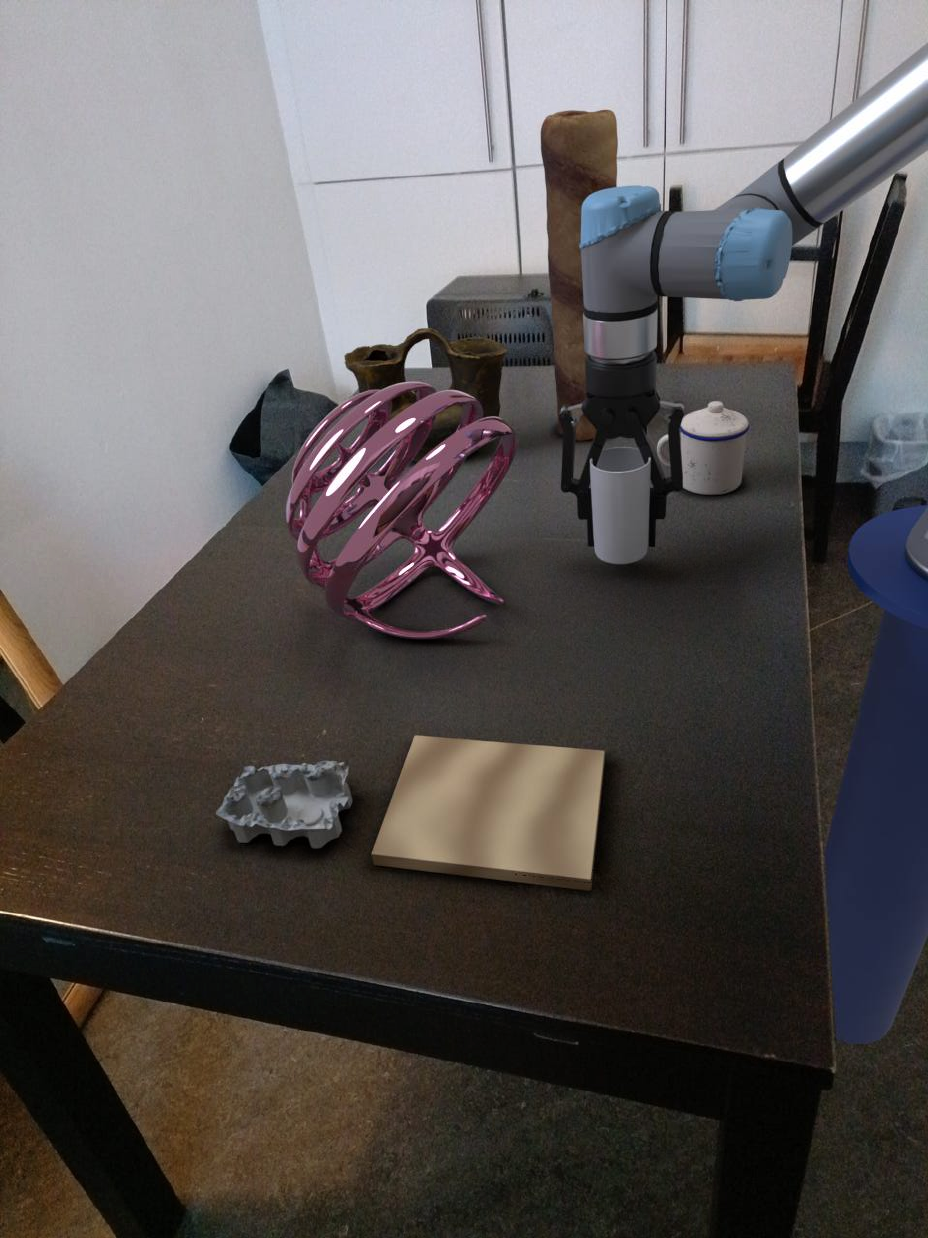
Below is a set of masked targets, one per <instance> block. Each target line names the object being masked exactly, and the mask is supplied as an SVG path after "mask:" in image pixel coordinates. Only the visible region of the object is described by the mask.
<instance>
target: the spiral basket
mask: <svg viewBox="0 0 928 1238" xmlns="http://www.w3.org/2000/svg"><path fill="white" fill-rule="evenodd" d="M409 391H411V392H413V393H414V394H415V395H416V400H417V402H416V403H414V404H412V405H411V406H409V407H408V408H406V409H405V410H403V411H402V412H401V413H399V414H398V415H396V416H395V417H394V418H393V419H391V420H390V421H389V422H388V420H389V418H390V414H391V410H392V399H394V398H396V397H397V396H399V395H402V394H404V393H406V392H409ZM458 404H462V415H461V419H460V423H459V425H458V428H457V430H456V432H455V433H454V434H452V435H451V436H450V437H448V438H447V439H445V440H444V441H443V442H441V443H440V444H439V445H438V446H436V447H435V448H434V449H433V450H431V451H430V452H429V453H428V454H427V455H425V456H424V457H423V458H422V459H421V460H420V461H419V462H415V464H413V466H412V467H410V469H409V470H408V471H406V470H407V468H408V467H409V466H410V465H411V463H412V462H413V459H414V457H415V456H416V454H417V453H418V451H419V450H420V448H421V447H422V445H423V444H424V442H425V440H426V438H427V436H428V435H429V433H430V431H431V428H432V426H433V424H434V421H435V419H436V415H437V414H438V413H440V412H442V411H444V410H446V409H448V408H450V407H452V406H455V405H458ZM350 409H351V410H350ZM349 410H350V411H349ZM348 411H349V412H348ZM346 412H348V413H346ZM345 413H346V414H345ZM344 414H345V415H344ZM342 415H344V416H343V417H342V418H341V419H340V420H339V421H338V422H336V424H335V425H334V426H333V427H331V429H330V430H328V428H330V426H331V425H332V424H334V423H335V421H337V419H339V418H340V417H341V416H342ZM369 415H370V416H369ZM368 416H369V419H368V418H367V417H368ZM366 419H367V422H366V423H365V426H364V428H363V429H362V431H361V432H360V434H359V435H358V437H357V438H356V439H355V441H354V442H353V444H351V446H349V447H346V446H345V445H343V444H342V441H344V440H345V439H346V437H347V436H349V434H350V433H352V431H353V430H355V429H356V428H357V427H358V426H359V425H360V424H361V423H362V422H363V421H365V420H366ZM327 430H328V432H327V433H326V434H325V436H323V438H322V439H321V440H320V442H319V443H318V444H317V445H316V446H315V447H314V445H315V444H316V443H317V442H318V440H319V439H320V437H322V435H323V434H324V433H325V432H326V431H327ZM496 439H499V442H498V444H497V447H496V449H495V451H494V453H493V456H492V457H491V459H490V461H489V463H488V465H487V467H486V468H485V470H484V471H483V473H482V474H481V476H480V477H479V479H478V480H477V482H476V484H475V485H474V486H473V488H472V489H471V490H470V491H469V493H468V494H467V495H466V496H465V498H464V499H463V500H462V502H461V504H460V505H458V507H457V508H456V509H455V511H454V512H453V513H452V514H451V515H450V517H449V518H448V519H447V520H446V521H445V522H444V523H443V524H442V526H440V527H439V528H437V529H435V530H434V529H433V530H432V529H429V528H428V527H426V526H425V524H424V522H423V518H424V516H425V513H426V512H427V511H428V509H429V508H430V507H431V506H432V505H433V504H434V503H435V502H436V500H437V499H438V498H439V497H440V495H441V494H442V493H443V492H444V491H445V489H446V488H447V486H448V485H449V484H450V483H451V481H452V480H453V478H454V477H455V476H456V474H457V473H458V471H459V470H460V468H461V467H462V465H463V464H464V463H465V461H466V459H467V457H468V456H470V455H469V454H471V453H472V454H473V453H474V452H475V451H477V450H478V449H480V448H481V447H482V446H483V447H484V446H485V445H486V444H489V443H490V442H492V441H494V440H496ZM401 440H402V441H401ZM400 441H401V442H400ZM399 442H400V444H398V443H399ZM313 447H314V449H313V450H312V448H313ZM395 447H396V448H395ZM518 447H519V438H518V434H517V433H516V431H515V429H514V428H513V426H512V425H511V424H510V423H509V422H507V421H506V420H505V419H504V418H502V417H500V416H499V417H496V416H491V417H485V418H483V410H482V406H481V404H480V403H479V401H478V400H477V399H476V398H474V397H473V396H471V395H469V394H467V393H465V392H462V391H459V390H448V389H445V390H440V391H437V389H435V387H434V386H433V385H431V384H429V383H426V382H422V381H406V382H402V383H398V384H394V385H391V386H389V387H386V388H384V389H382V390H369V391H365V392H362V393H357V394H355V395H353V396H351V397H350V398H348V399H346V400H345V401H343V402H341V403H340V404H338V405H337V406H336V407H335V408H334V409H332V410H331V411H330V412H329V413H328V414H327V415H326V416H325V417H324V418H323V419H322V420H321V421H320V422H319V423H318V424H317V425H316V426H315V428H314V429H312V431H311V432H310V434H309V435H308V437H307V438H306V439H305V441H304V442H303V444H302V446H301V448H300V450H299V451H298V453H297V456H296V457H295V461H294V464H293V468H292V470H291V487H290V489H289V493H288V496H287V500H286V505H285V522H286V528H287V530H288V533H289V535H290V536H291V537H292V539H294V540H295V541H297V544H296V549H295V557H296V558H295V559H296V563H297V566H298V568H299V570H300V572H301V574H302V576H303V577H304V578H305V580H306V581H307V582H309V583H310V584H313V585H315V586H318V587H320V588H321V589H323V590H324V592H323V593H324V601H325V603H326V604H327V606H328V608H330V610H331V611H332V612H333V613H335V614H336V615H338V616H339V617H341V618H344V619H347V620H352V621H355V622H358V623H359V624H362V625H364V626H366V627H368V628H370V629H373V630H375V631H376V632H380V633H381V634H385V635H388V636H391V637H394V638H395V637H396V638H400V639H407V640H416V641H419V640H420V641H427V640H438V639H444V638H445V639H446V638H449V637H454V636H456V635H457V636H458V635H460V634H463V633H465V632H468V631H470V630H472V629H475V628H476V627H478V626H479V625H481V624H483V623H484V622H485V621H486V620H487V618H488V617H487V615H486V614H481V615H478V616H476V617H474V618H472V619H470V620H468V621H465V622H464V623H461V624H458V625H455V626H453V627H452V626H451V627H448V628H444V629H443V628H442V629H440V630H439V629H438V630H412V629H405V628H401V627H398V626H394V625H390V624H389V623H386V622H384V621H381V620H379V619H377V618H375V617H374V616H373V615H372V614H371V613H372V612H374V611H375V610H377V609H378V608H380V607H382V606H383V605H385V604H386V603H387V602H389V601H390V600H392V599H393V598H394V597H396V596H397V595H398V594H400V593H401V592H402V591H404V590H405V589H406V588H407V587H408V586H409V585H411V584H412V583H413V582H415V581H416V579H418V578H419V577H421V575H422V574H423V573H425V572H426V571H427V570H429V569H432V568H436V569H439V570H440V571H442V572H444V573H445V574H446V575H447V576H449V577H450V578H451V579H452V580H454V581H455V582H456V583H458V585H460V586H461V587H463V588H465V589H466V590H467V591H469V592H471V593H472V594H474V595H475V596H477V597H479V598H481V599H482V600H484V601H486V602H489V603H492V604H495V605H499V606H500V605H504V604H505V599H504V598H503V597H502V596H500V595H499V594H498V593H496V592H495V591H494V589H492V588H491V587H489V585H487V584H486V582H484V580H482V579H481V578H480V577H478V576H477V575H476V574H475V573H474V572H473V571H472V570H471V569H470V568H469V567H468V566H466V565H465V564H464V563H463V562H462V561H461V560H460V559H459V558H458V557H457V555H455V553H454V550H453V547H454V544H455V542H457V540H458V538H459V537H460V536H461V535H462V534H463V533H464V531H465V530H467V528H468V527H469V525H470V524H472V523H473V521H474V520H475V519H476V518H477V516H478V515H479V514H480V512H481V511H482V510H483V509H484V507H485V506H486V505H487V504H488V502H489V501H490V499H491V498H492V497H493V495H494V494H495V493H496V490H497V489H498V488H499V486H500V485H501V483H502V482H503V480H504V478H505V477H506V475H507V473H508V472H509V470H510V468H511V466H512V464H513V462H514V460H515V457H516V455H517V451H518ZM394 448H395V449H394ZM335 449H336V450H337V451H338V452H337V453H338V458H337V459H336V460H335V461H334V462H333V463H331V464H330V465H329V466H327V467H325V468H324V469H321V470H320V471H319V469H320V468H321V466H323V464H324V463H325V461H326V460H327V459H328V458H329V457H330V455H331V454H332V453H333V452H334V451H335ZM392 449H394V451H393V452H392V454H391V455H390V456H389V458H388V459H387V460H386V462H384V464H383V465H382V467H380V468H379V469H378V470H377V471H375V472H372V471H371V470H373V469H374V468H375V466H376V465H377V464H378V463H379V462H380V461H381V460H382V459H383V458H384V457H386V455H387V454H388V453H390V451H392ZM311 450H312V451H311ZM310 452H311V453H310ZM472 454H471V455H472ZM405 471H406V473H405V474H403V473H404V472H405ZM402 474H403V476H402ZM400 477H401V478H400ZM396 481H397V482H396ZM356 487H358V488H357V491H356V492H355V493H354V494H353V495H351V493H352V492H353V491H354V489H355V488H356ZM319 493H321V494H320V495H319V497H318V499H317V500H316V502H315V503H314V505H313V507H312V499H313V496H315V495H317V494H319ZM350 495H351V497H349V496H350ZM348 497H349V498H348ZM298 507H299V517H298V518H297V517H296V513H297V510H298ZM311 507H312V508H311ZM370 508H372V509H371V510H370V512H368V514H367V515H366V517H364V519H363V520H362V521H361V523H359V525H358V526H357V528H356V529H355V531H354V532H353V534H351V536H350V538H349V539H348V541H347V542H346V544H345V545H344V547H343V548H342V550H341V551H340V553H339V555H338V556H337V558H334V559H332V560H328V561H327V560H324V558H323V557H322V555H321V552H320V549H319V545H318V543H319V541H321V540H323V539H325V538H327V537H330V536H331V535H333V534H335V533H337V532H338V531H340V530H342V529H344V528H345V527H347V526H348V525H349V524H351V523H353V522H354V521H355V520H356V519H358V518H359V517H360V516H361V515H362V514H364V513H365V512H366V511H368V510H369V509H370ZM402 539H403V540H407V541H408V542H410V543H411V544H412V546H413V548H414V551H413V554H411V556H410V557H409V558H408V559H407V560H406V561H405V562H403V564H402V565H400V566H399V567H398V568H397V569H395V570H394V571H393V572H392V573H391V574H390V575H388V576H387V577H385V578H384V579H382V580H381V581H380V582H379V583H377V584H376V585H375V586H373V587H372V588H370V589H368V590H367V591H365V592H363V593H362V594H359V595H358V596H356V597H351V596H349V595H348V594H349V592H350V590H351V587H352V585H353V583H354V581H355V580H356V578H357V576H358V575H359V573H360V571H361V570H362V568H364V567H365V566H367V565H368V564H370V563H371V562H372V561H374V560H375V559H376V558H378V557H379V556H380V555H381V554H383V553H384V552H385V551H386V550H387V549H389V548H390V547H391V546H392V545H393V544H394V543H396V542H397V541H399V540H402Z"/></svg>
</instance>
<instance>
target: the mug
mask: <svg viewBox="0 0 928 1238" xmlns="http://www.w3.org/2000/svg"><path fill="white" fill-rule="evenodd" d="M650 476H651V457H649V459H648V463H647V464H646V465H645V463H644V461H643V458H642V455H641V453H640V450H639V448H637V447H632V446H616V447H615V446H613V447H610V448H609V447H608V448H605V449H602V451H601V454H600V457H599V460H598V463H597V466H596V467H595V466H594V465H593V459H592V458H591V459H590V479H591V483H590V488H591V497H592V514H593V534H594V547H593V548H594V554H595V555H596V557H597V558H598V559H599V560H600V561H602V562H605V563H608V564H613V565H627V564H632V563H633V564H634V563H636V562H638V561H641V559H643V558H644V557H645V556H646V555H647V552H648V548H649V501H650V488H651V479H650Z"/></svg>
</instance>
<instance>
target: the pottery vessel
mask: <svg viewBox="0 0 928 1238" xmlns="http://www.w3.org/2000/svg"><path fill="white" fill-rule="evenodd" d="M425 340H430V341H432V342H433V343H435V345H436V346H437V347H438V348H439V349H440V350H441V351H442V352H443V354H444V356H445V358H446V361H447V364H448V367H449V370H450V375H451V385H450V386H449V388H448V389H447V390H459V391H462V392H465V393H467V394H469V395H471V396H473V397H474V398H476V399H477V400H478V401H479V403H480V404H481V406H482V410H483V418H485V417H491V416H496V417H500V411H501V407H502V406H501V402H500V390H501V383H502V376H503V372H502V371H503V364H504V363H503V362H504V358H505V355H506V354H507V352H508V349H505V344H503V343H500V342H498V341H495V340H493V339H491V338H488V337H483V336H482V337H473V336H472V337H465V338H462V339H455V340H452V341H449V339H448V338H447V336H445V335H443V334H441V332H439V331H438V330H436V329H434V328H433V327H423V328H422V327H421V328H417V329H415V331H413V332H412V333H410V334H409V335H407V336H406V338H405V340H404V341H403V342H401V343H399V344H397V345H393V344H385V343H382V344H380V343H378V344H373V345H362V346H358V347H356V348H355V349H353V350H352V351H351V352H346V353H345V354H344V355H343V357H344V364H345V368H346V369H347V370H348V371H349V372H351V373H352V374H353V376H354V377H355V379H356V383H357V387H358V394H360V393H362V392H365V391H369V390H382V389H384V388H386V387H389V386H391V385H394V384H398V383H402V382H407V379H406V373H405V372H406V371H405V366H406V361H407V357H408V354H409V352H410V351H411V350H412V348H413V347H415V345H417V344H419V343H421V342H423V341H425ZM416 402H417V400H416V395H415V393H414V391H409V392H406V393H404V394H402V395H399V396H397V397H396V398H394V399H392V410H391V414H390V418H389V420H388V422H389V421H390V420H391V419H393V418H394V417H395V416H396V415H398V414H399V413H401V412H402V411H403V410H405V409H406V408H408V407H409V406H411V405H412V404H414V403H416ZM461 415H462V404H458V405H455V406H452V407H450V408H448V409H446V410H444V411H442V412H440V413H438V414H437V415H436V419H435V421H434V424H433V426H432V428H431V431H430V433H429V435H428V436H427V438H426V440H425V442H424V444H423V445H422V447H421V448H420V450H419V451H418V453H417V454H416V456H415V457H414V459H413V460H412V462H415V463H417V462H419V461H420V460H421V459H422V458H423V457H424V456H425V455H427V454H428V453H429V452H430V451H431V450H433V449H434V448H435V447H436V446H438V445H439V444H440V443H441V442H443V441H444V440H445V439H447V438H448V437H450V436H451V435H452V434H454V433H455V432H456V430H457V428H458V425H459V423H460V419H461ZM369 416H370V415H369ZM369 416H368V417H367V418H366V419H367V420H368V419H369ZM401 441H402V440H401ZM401 441H400V442H401ZM400 442H399V443H398V444H397V445H399V444H400ZM472 454H473V452H472V453H471V454H469V455H468V456H471V455H472Z"/></svg>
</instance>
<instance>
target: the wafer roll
mask: <svg viewBox="0 0 928 1238" xmlns="http://www.w3.org/2000/svg"><path fill="white" fill-rule="evenodd" d="M540 127H541V128H540V153H541V154H540V155H541V160H542V165H543V170H544V171H543V172H544V184H545V190H546V195H545V196H546V233H547V240H548V242H547V263H548V266H547V267H548V268H547V269H548V280H549V293H550V302H551V319H552V324H553V325H552V327H553V329H552V338H553V363H554V381H555V395H556V410H557V411H556V412H557V430H558V434H560V435H562V436H563V430H562V427H561V424H560V421H559V414H560V411H561V408H562V406H563V405H566V404H567V405H570V406H574V405H578V404H581V403H583V400H584V398H585V396H586V383H585V358H586V357H587V356H588V354H587V353H586V352H585V350H584V325H583V313H584V310H583V306H584V299H583V279H582V259H581V249H580V246H579V244H580V243H581V212H582V205H583V202H584V201H585V199H586V198H587V197H588V196H589V195H591V194H592V193H595V192H597V191H600V190H604V189H609V188H614V187H618V184H617V182H618V148H619V147H618V146H619V137H618V122H617V117H616V115H615V112H614V111H612V110H611V109H600V110H596V111H586V110H577V109H576V110H575V109H573V110H572V109H571V110H569V109H568V110H562V111H557V112H554V113H553V114H549V115H547V116H546V117H545V118H544V119H543V122H542V124H541V126H540ZM595 432H596V429H595V427H594V426H593V425H592V424H591V423H590V421H589V420H588V419H587V418H586V416H585V415H582V416H581V417H580V423H579V425H577V426H576V439H575V441H582V442H584V441H585V442H586V441H590V440H593V438H594V435H595Z"/></svg>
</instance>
